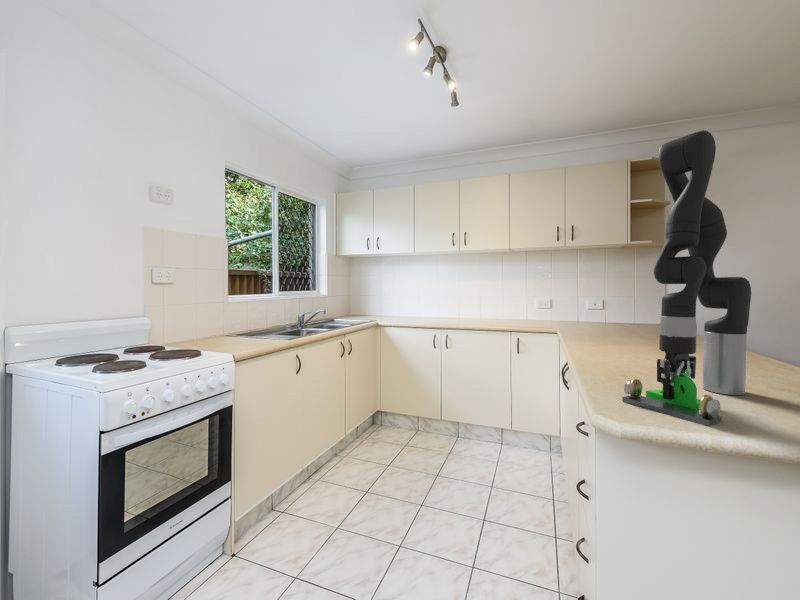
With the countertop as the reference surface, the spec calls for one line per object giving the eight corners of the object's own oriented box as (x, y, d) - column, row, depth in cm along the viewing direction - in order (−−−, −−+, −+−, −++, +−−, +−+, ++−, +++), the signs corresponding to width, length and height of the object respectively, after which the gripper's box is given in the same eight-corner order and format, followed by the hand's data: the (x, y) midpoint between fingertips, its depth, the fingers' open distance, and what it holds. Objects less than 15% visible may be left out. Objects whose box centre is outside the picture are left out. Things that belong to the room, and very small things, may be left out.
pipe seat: (634, 398, 98) (635, 376, 98) (721, 421, 81) (722, 395, 81) (622, 401, 95) (622, 379, 95) (709, 426, 78) (709, 398, 78)
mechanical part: (709, 410, 88) (710, 378, 88) (689, 412, 87) (690, 379, 86) (664, 396, 100) (664, 367, 99) (646, 397, 98) (646, 368, 98)
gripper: (676, 331, 99) (674, 390, 100) (646, 333, 93) (644, 397, 93) (709, 334, 92) (707, 397, 93) (679, 337, 86) (677, 405, 86)
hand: (675, 397), depth 93 cm, fingers closed on mechanical part, 7 cm apart
